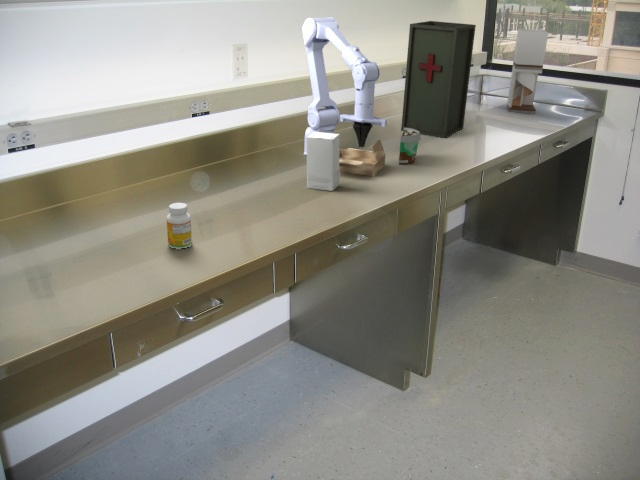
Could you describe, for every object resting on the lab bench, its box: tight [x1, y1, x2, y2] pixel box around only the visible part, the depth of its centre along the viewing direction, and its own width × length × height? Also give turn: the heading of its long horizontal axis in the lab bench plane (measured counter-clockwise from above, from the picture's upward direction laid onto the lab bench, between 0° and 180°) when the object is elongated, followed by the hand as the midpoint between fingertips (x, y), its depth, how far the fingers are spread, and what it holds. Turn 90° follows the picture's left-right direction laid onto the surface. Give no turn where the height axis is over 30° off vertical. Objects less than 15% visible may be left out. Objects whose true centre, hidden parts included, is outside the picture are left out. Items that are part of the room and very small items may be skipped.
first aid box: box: [400, 20, 477, 139], centre depth 251 cm, size 18×18×40 cm
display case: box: [506, 28, 550, 115], centre depth 291 cm, size 11×11×35 cm
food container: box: [398, 128, 422, 166], centre depth 216 cm, size 12×6×10 cm, turn 168°
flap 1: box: [339, 158, 365, 166], centre depth 200 cm, size 10×1×5 cm
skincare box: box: [306, 132, 341, 192], centre depth 188 cm, size 8×7×16 cm
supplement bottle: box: [166, 202, 193, 250], centre depth 148 cm, size 5×5×10 cm
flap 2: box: [370, 139, 386, 162], centre depth 204 cm, size 1×9×5 cm, turn 158°
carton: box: [339, 147, 386, 178], centre depth 210 cm, size 16×15×4 cm
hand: (361, 146), depth 206 cm, fingers closed
